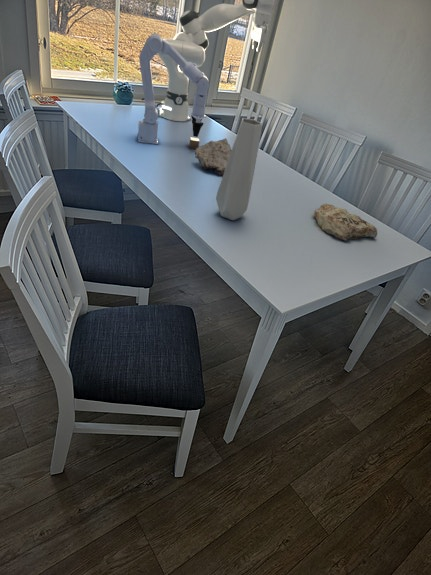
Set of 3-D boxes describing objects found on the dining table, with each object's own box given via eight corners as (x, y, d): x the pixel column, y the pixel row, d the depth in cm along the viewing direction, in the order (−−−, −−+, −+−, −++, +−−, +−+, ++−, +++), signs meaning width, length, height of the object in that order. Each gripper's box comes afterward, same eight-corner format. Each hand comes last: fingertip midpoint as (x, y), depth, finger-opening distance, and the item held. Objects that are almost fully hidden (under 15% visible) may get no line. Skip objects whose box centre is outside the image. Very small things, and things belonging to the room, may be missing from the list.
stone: (347, 232, 131) (303, 198, 147) (341, 246, 135) (298, 211, 150) (382, 227, 141) (337, 195, 156) (375, 240, 144) (331, 207, 160)
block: (198, 149, 188) (199, 141, 185) (189, 148, 187) (190, 139, 184) (197, 146, 191) (198, 138, 188) (189, 145, 190) (190, 137, 188)
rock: (234, 142, 173) (214, 126, 161) (245, 170, 166) (225, 155, 155) (210, 161, 180) (189, 148, 168) (219, 189, 174) (199, 176, 162)
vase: (253, 221, 137) (278, 128, 117) (226, 224, 131) (248, 127, 111) (236, 206, 144) (257, 116, 124) (210, 208, 139) (227, 114, 119)
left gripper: (208, 110, 172) (203, 140, 180) (206, 102, 183) (202, 130, 191) (193, 107, 170) (189, 137, 179) (192, 99, 182) (188, 128, 190)
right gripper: (273, 24, 196) (266, 54, 205) (262, 20, 212) (256, 48, 220) (261, 21, 195) (255, 52, 203) (252, 18, 210) (246, 46, 218)
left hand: (195, 133), depth 185 cm, fingers open, 7 cm apart
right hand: (256, 50), depth 212 cm, fingers open, 8 cm apart
